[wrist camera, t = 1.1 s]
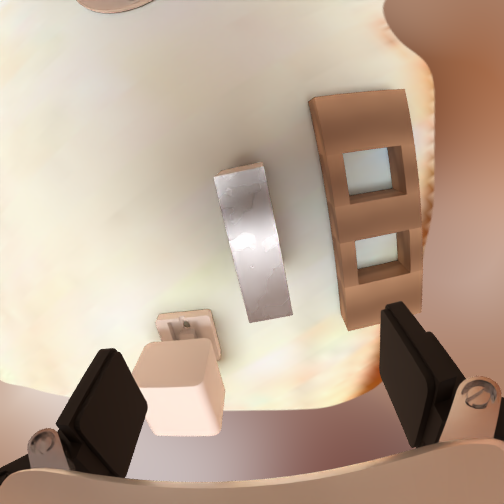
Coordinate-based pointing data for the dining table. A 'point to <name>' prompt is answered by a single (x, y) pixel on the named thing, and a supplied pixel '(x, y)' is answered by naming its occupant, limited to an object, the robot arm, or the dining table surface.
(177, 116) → the dining table surface
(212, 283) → the dining table surface
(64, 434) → the robot arm
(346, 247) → the wooden frame
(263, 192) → the grey rectangular block
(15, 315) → the dining table surface
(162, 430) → the security camera
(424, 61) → the dining table surface
